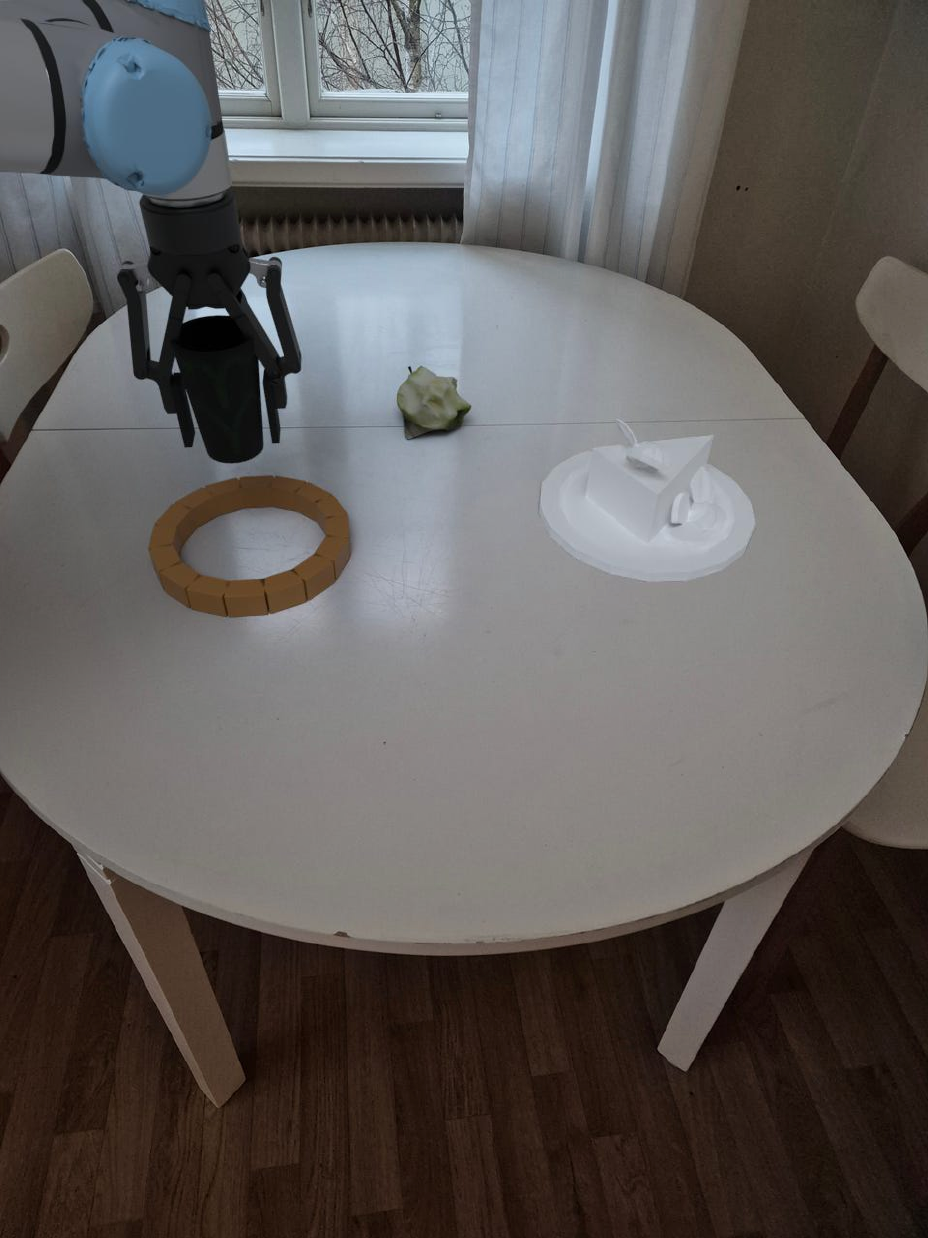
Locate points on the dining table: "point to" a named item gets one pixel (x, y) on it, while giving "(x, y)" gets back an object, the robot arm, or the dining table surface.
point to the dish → (647, 509)
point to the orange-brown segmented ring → (250, 593)
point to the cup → (222, 386)
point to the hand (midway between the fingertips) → (233, 437)
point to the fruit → (430, 403)
